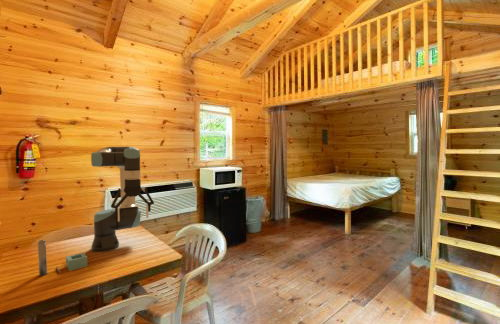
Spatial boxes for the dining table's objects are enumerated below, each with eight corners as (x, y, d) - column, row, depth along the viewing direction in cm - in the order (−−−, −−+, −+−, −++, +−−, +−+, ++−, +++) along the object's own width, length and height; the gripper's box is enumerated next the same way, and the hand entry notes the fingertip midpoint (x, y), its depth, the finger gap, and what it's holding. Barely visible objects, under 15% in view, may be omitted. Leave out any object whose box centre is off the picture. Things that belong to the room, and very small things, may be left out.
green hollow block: (66, 265, 139) (65, 256, 138) (83, 261, 144) (83, 252, 144) (69, 270, 133) (69, 261, 133) (87, 266, 139) (87, 256, 138)
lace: (55, 268, 135) (55, 266, 135) (58, 268, 136) (58, 266, 136) (58, 273, 130) (58, 271, 130) (60, 273, 130) (60, 271, 130)
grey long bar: (38, 274, 129) (37, 239, 128) (46, 272, 131) (45, 238, 130) (39, 276, 127) (38, 241, 126) (47, 274, 129) (46, 239, 128)
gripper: (104, 180, 126) (105, 224, 127) (159, 178, 137) (159, 218, 138) (105, 178, 132) (106, 220, 134) (157, 176, 144) (157, 214, 145)
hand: (133, 219), depth 136 cm, fingers open, 13 cm apart
